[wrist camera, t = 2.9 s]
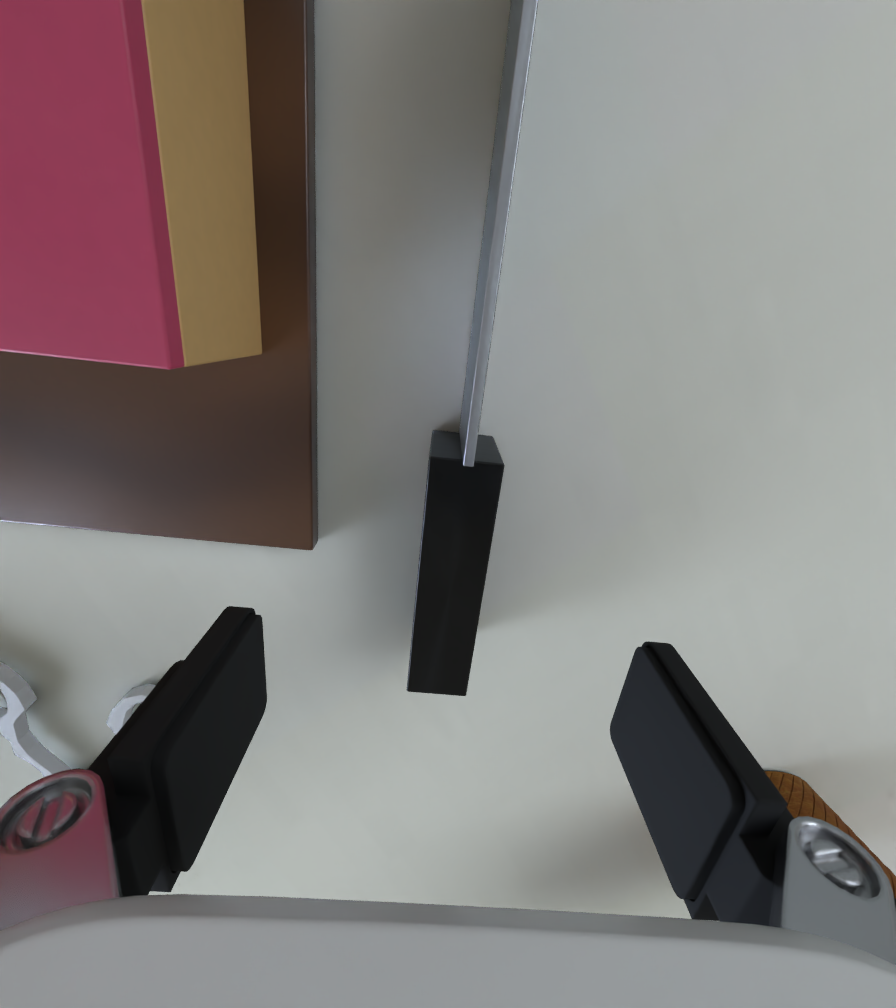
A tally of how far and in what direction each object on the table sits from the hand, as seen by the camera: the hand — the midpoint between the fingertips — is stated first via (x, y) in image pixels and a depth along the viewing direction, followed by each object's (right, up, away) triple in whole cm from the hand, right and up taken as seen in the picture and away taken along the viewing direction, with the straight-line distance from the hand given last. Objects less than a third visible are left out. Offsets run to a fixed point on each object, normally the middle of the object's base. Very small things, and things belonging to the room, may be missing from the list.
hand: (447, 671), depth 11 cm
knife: (+1, +9, +4) cm, 9 cm away
